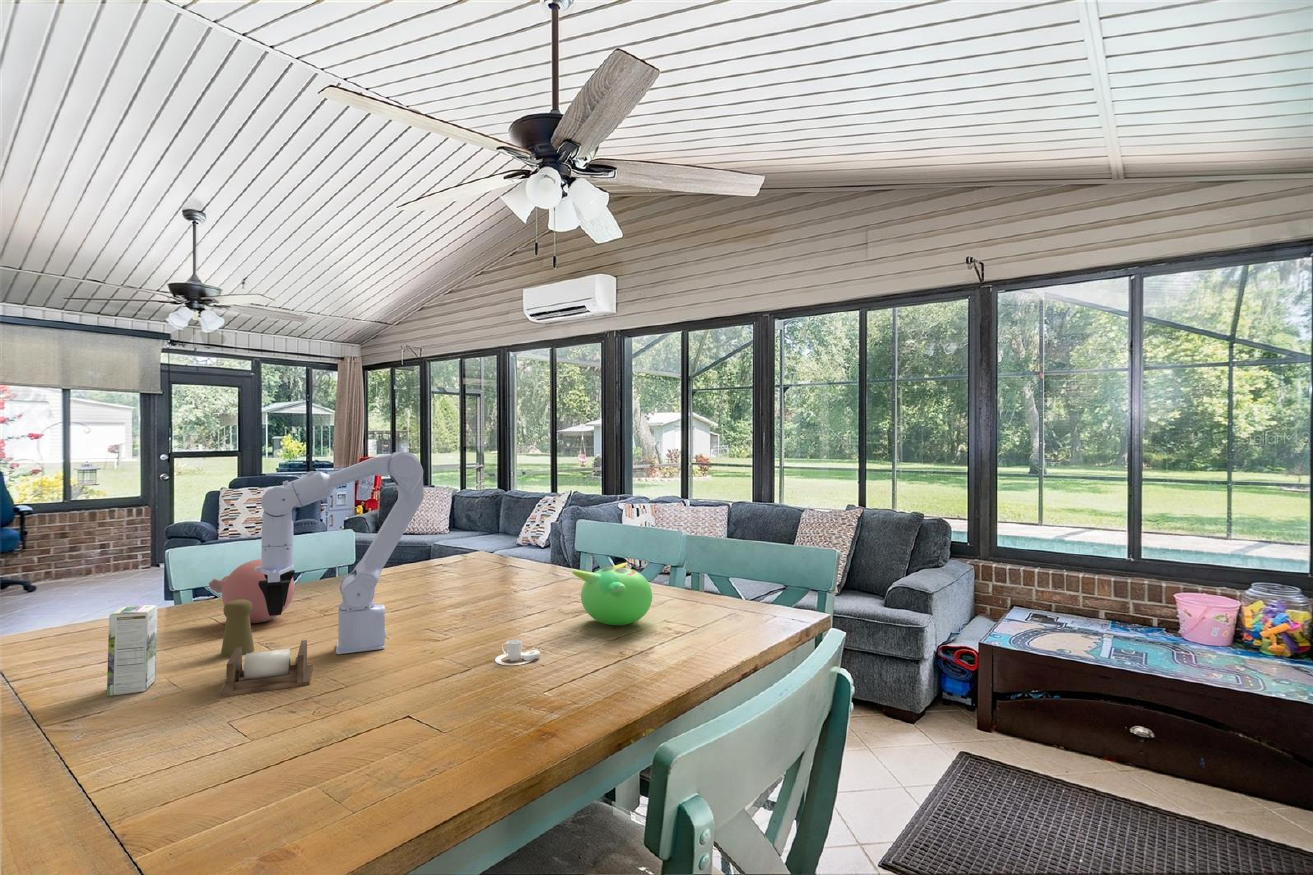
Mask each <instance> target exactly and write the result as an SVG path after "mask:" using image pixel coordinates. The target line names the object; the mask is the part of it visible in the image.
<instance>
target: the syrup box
mask: <svg viewBox="0 0 1313 875" xmlns="http://www.w3.org/2000/svg"><path fill="white" fill-rule="evenodd" d="M158 608H159V607H158V605H155V604H154V605H152V604H151V605H150V604H143V605H129V606H124V607H123V606H122V607H120V608H119V609H117V610H116V611H113V612H112V613H111V614H110V615H109V616H108V642H107V643H108V645H107V646H108V647H107V676H106V677H107V678H106V679H107V684H106V696H109V697H110V696H119V695H126V694H127V695H128V694H134V693H142V692H146V691H148V689H150V687H151V686H152V685H153V684H154V683H155V681H156V679H157V678H156V677H157V672H156V671H157V646H158V645H157V640H158V638H157V637H158V636H157V635H158Z"/></svg>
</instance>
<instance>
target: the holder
mask: <svg viewBox="0 0 1313 875" xmlns="http://www.w3.org/2000/svg"><path fill="white" fill-rule="evenodd" d="M313 666H314V665H313V664H308V639H303V640H300V644H299V648H298V652H297V656H295V663H291V665H290V674H289V675H287V676H279V677H271V678H264V679H256V680H248V681H245V680H244V669H243V655H242V647H238V648H235V650H234V652H233V654H232V655H231V657H229V659H228V661H227V663H226V668H225V669H226V674H225V675H226V676H225V677H226V678H225V679H226V681H225V683H224V685H223V686H222V688H221V690H220V692H219V698H221V697H228V696H229V697H230V696H237V695H244V694H250V693H258V692H259V693H260V692H267V691H272V690H281V689H287V688H288V689H289V688H295V687H300V686H301V687H302V686H309V685H310V684H311V679H312V674H313Z"/></svg>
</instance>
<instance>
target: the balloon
mask: <svg viewBox="0 0 1313 875" xmlns="http://www.w3.org/2000/svg"><path fill="white" fill-rule="evenodd" d="M259 566H261V558H259V559H254V560H249V561H247V562H245V563H242V564H241V565H239V566H237V567H236V568H234V570H232V572H231V573H230V574H228V575H226V576H224V577H223V578H221V579H219V578H213V579H212V580H211V581H209V582H208V586H209V587H208V588H210V590H212V591H214V592H215V593H221V600H222V604H223V607H224V606H225V604H226V603H228V602H230V601H233V600H241V599H243V600H249V601H250V602H251V603H252V611H251V613H250V614H249V618H250V624H258V623H259V624H260V623H265V622H268V621H271V620H273V619H275V618H277V617H279V615H275V616H269V614H268V610H267V605H266V601H265V597H264V595H263V592H262V590H261V589H260V587H259V585H258V582H259V581H264V580H266V578H265V577H264V575H265V574H264V573H262V572H260V571H257V572H256V571H255V567H259ZM295 588H296V587H295V581H294V577H292V579H291V582H290V585H289V589H288V594H287V599H286V603H285V606H283V610H282V613H283V612H284V611H286V609H287V608H288V607H289V606H290V604H291V602H292V600H293V598H294V594H295Z"/></svg>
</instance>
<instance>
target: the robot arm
mask: <svg viewBox="0 0 1313 875" xmlns="http://www.w3.org/2000/svg"><path fill="white" fill-rule="evenodd" d="M370 476H377V477H378V476H379V477H388V476H389V477H390V478H391V480H392V481H393V482H394V486H395V487H396V490H397V493H398V497H397V500H396V502H395V503H394V505H393V506H392V508H391V510H390V511H389V513H388V514H387V517H386V518H385V519H384V521H383V523H382V525H381V526H380V528H379V530H378V532H377V534H375V536H374V538H373V540H372V542H371V543H370V544H369V547H368V548H367V550H366V552H365V553H364V554H363V556H362V559H360V560H359V562H357V564H356V565H355V567H354V568H353V570H352V571H351V572H349V573H348V574H347V575H345V576H344V577H343V579H342V580H341V581H340V584H339V590H340V594H341V596H342V597H341V598H342V602H340V604H339V605H338V628H337V629H338V636H337V637H338V640H337V642H336V648H335V655H344V654H353V653H360V652H368V651H369V652H370V651H375V650H377V651H378V650H383V649H385V648H386V645H385V641H386V640H385V639H386V638H387V629H386V628H385V627H386V619H385V618H386V617H385V615H386V614H385V612H386V611H385V610H386V609H385V604H376V602H375V600H374V598H375V593H376V586H377V584H378V582H380V577H381V574H382V571H383V569H384V568H385V566H386V564H387V562H388V560H389V559H390V557H391V555H392V554H393V552H394V550H395V548H396V547H397V545H398V544H399V542H400V540H401V538H402V537H403V535H404V533H405V532H406V530H407V528H408V527H409V525H410V523H411V521H412V519H413V518H414V516H415V514H416V513H417V511H418V509H419V507H420V506H421V504H422V503H423V500H424V498H425V497H424V496H425V492H424V489H425V488H424V469H423V466H422V464H421V462H420V459H419V458H418V457H417V455H415V454H414V453H412V452H408V451H401V450H400V451H395V452H392V453H391V454H390V453H389V454H388V453H387V454H382V455H378V456H374V457H370V458H368V459H365V460H363V461H361V462H358V463H355V464H353V465H350V466H348V467H344V468H343V469H340V470H337V471H334V472H332V473H329V474H328V473H325V472H323V471H316V472H314V471H313V470H311V471H308V472H306V476H303V477H302V476H301V477H300V478H297V479H295V480H291V481H289V480H285V481H282V486H272V487H271V488H268V489H267V490H266V491H265V492H264V494H263V495H262V497H261V503H260V504H261V507H262V508H261V509H263V512H262V518H261V519H262V523H261V558H260V559H261V566H259V567H255V571H256V572H257V571H260V572H262V573H264V574H265V575H264V577H265V578H266V580H264V581H259V582H258V585H259V587H260V589H261V590H262V592H263V595H264V597H265V601H266V605H267V610H268V614H269V616H275V615H278V616H281V615H282V613H283V612H282V610H283V606H285V603H286V599H287V594H288V589H289V585H290V582H291V579H292V577H293V576H294V575H295V573H296V570H294V569H295V564H294V521H293V508H294V507H296V508H302V507H304V506H307V505H310V504H312V503H316V502H319V501H321V500H323V499H326V498H328V497H331V495H332V493H333V492H334V489H336V488H339V487H341V486H344V485H347V484H350V483H353V482H355V481H359V480H361V479H365V478H367V477H370ZM293 578H294V577H293Z"/></svg>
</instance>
